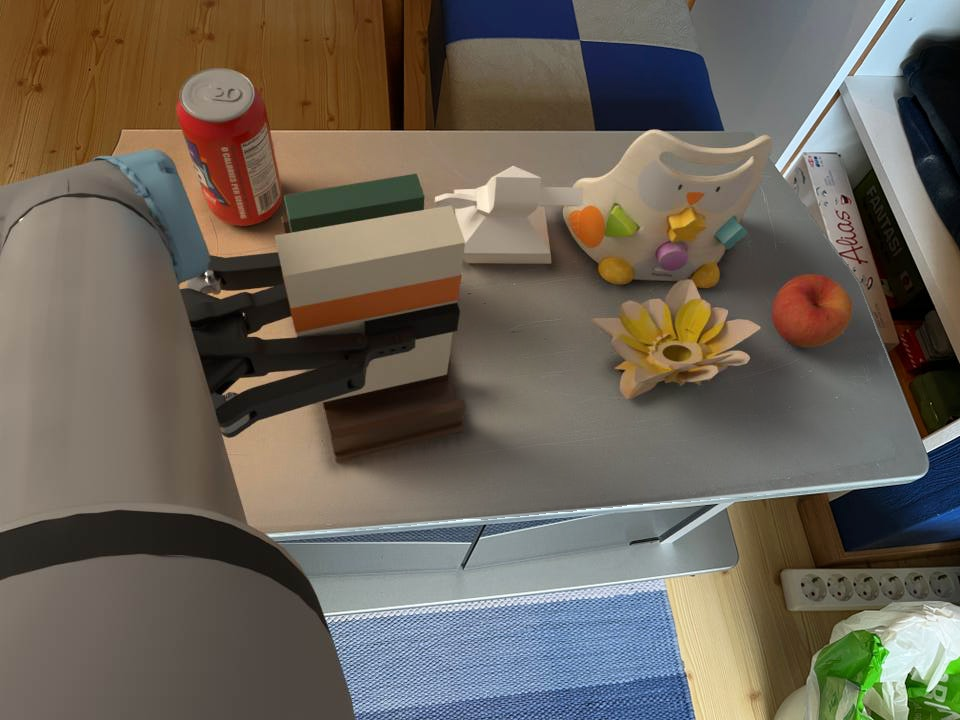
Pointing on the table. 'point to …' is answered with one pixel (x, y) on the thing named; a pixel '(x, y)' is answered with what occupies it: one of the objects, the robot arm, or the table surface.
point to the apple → (811, 310)
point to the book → (376, 284)
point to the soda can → (230, 145)
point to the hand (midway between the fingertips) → (449, 295)
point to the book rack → (392, 414)
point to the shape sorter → (666, 211)
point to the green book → (354, 202)
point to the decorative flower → (674, 340)
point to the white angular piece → (508, 217)
